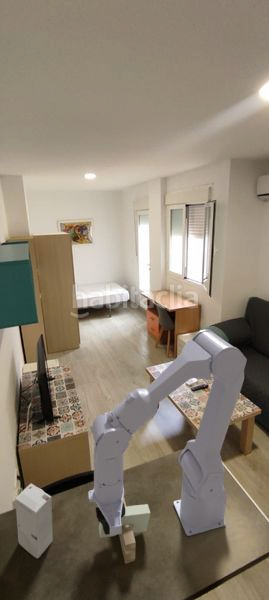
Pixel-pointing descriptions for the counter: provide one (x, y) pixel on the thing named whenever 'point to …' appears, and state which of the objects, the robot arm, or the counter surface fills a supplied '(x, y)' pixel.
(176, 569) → the counter surface
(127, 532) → the wooden notched block
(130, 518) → the slotted plate
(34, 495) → the skincare box
